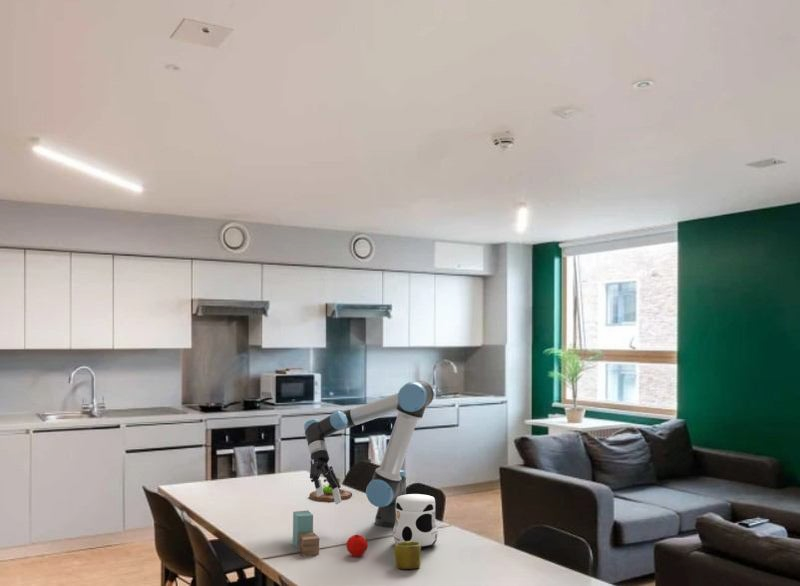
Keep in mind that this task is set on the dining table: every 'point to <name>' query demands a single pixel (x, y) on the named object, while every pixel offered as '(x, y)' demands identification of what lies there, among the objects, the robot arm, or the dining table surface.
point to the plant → (330, 494)
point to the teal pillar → (301, 524)
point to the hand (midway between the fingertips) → (329, 499)
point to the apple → (356, 545)
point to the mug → (407, 555)
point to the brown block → (308, 543)
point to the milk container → (415, 519)
